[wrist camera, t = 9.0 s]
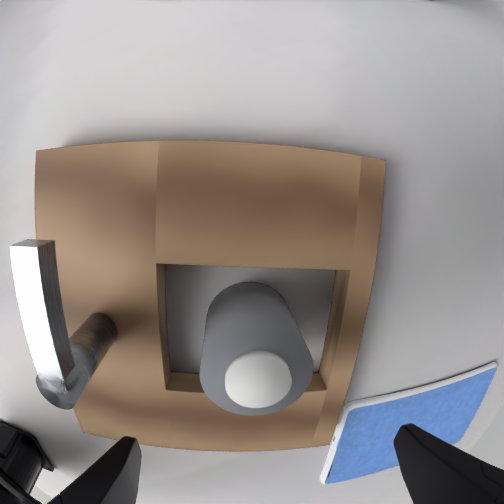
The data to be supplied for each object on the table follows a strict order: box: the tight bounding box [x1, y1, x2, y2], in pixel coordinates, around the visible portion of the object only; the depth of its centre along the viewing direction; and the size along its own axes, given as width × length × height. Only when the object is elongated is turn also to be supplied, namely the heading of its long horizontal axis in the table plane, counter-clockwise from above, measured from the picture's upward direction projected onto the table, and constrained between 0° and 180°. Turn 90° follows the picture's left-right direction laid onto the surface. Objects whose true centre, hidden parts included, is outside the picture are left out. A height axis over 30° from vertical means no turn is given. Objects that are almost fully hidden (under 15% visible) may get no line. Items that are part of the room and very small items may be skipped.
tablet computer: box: [320, 362, 497, 484], centre depth 22 cm, size 19×13×1 cm, turn 89°
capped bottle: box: [200, 282, 313, 416], centre depth 14 cm, size 5×5×6 cm
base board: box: [35, 140, 386, 452], centre depth 16 cm, size 20×19×2 cm
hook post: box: [10, 239, 118, 409], centre depth 11 cm, size 7×2×6 cm, turn 177°
